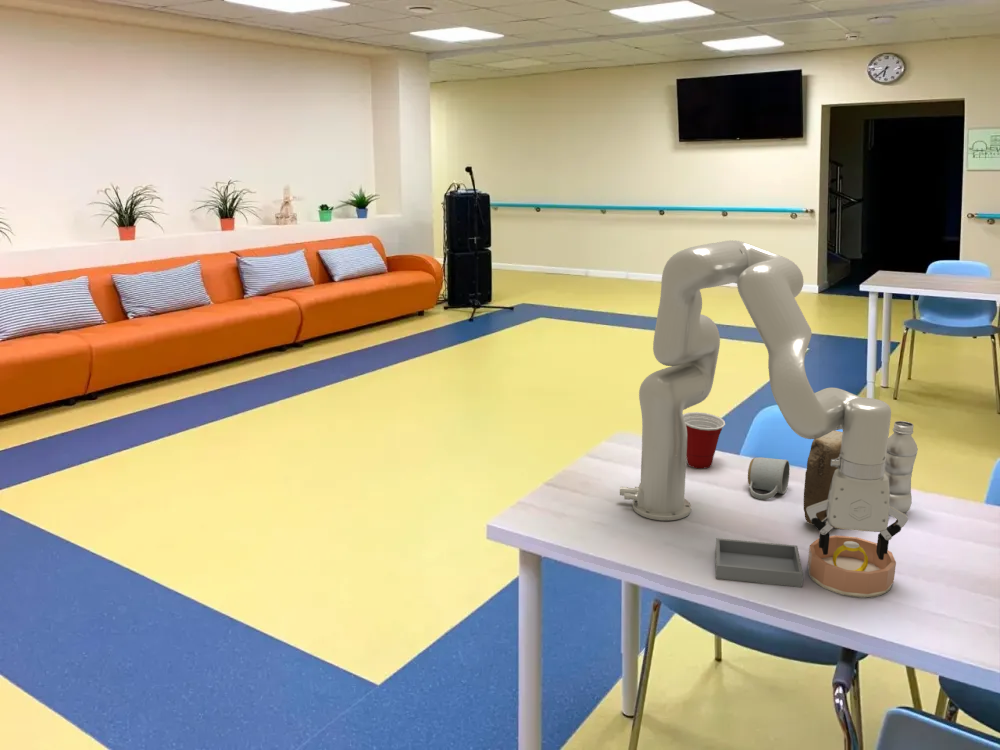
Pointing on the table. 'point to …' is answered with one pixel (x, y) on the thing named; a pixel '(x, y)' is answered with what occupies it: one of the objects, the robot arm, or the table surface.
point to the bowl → (851, 568)
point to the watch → (851, 547)
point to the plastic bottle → (900, 465)
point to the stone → (821, 470)
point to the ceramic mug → (768, 476)
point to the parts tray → (758, 562)
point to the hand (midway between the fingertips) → (851, 553)
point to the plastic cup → (702, 438)
